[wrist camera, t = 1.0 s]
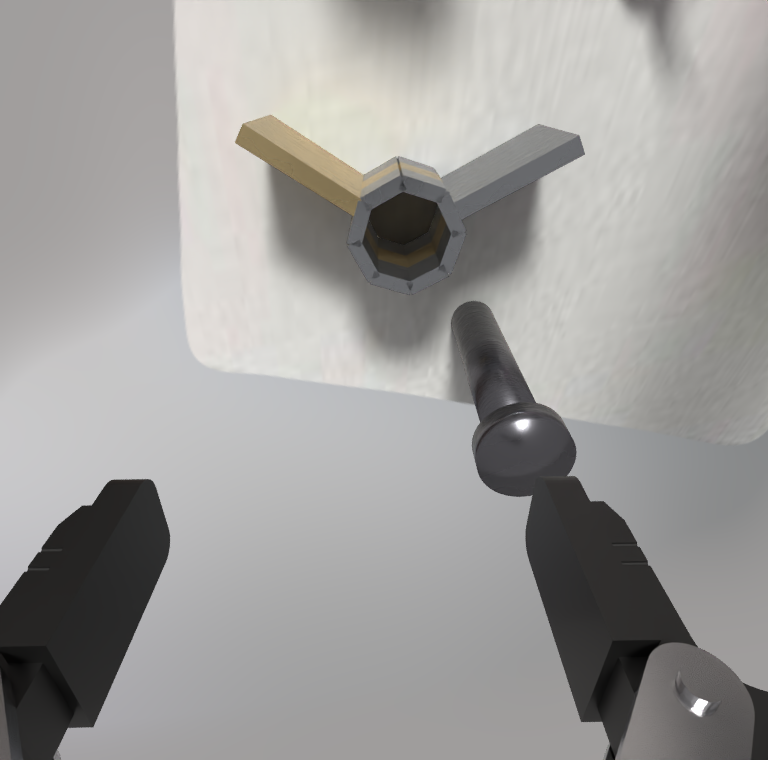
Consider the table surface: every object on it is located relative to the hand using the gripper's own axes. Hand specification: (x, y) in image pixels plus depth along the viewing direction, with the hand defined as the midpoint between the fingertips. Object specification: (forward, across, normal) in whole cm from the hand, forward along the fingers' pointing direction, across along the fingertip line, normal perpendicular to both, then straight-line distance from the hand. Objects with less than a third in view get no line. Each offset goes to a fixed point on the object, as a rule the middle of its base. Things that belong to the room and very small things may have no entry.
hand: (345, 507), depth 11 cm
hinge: (+28, -3, -4) cm, 28 cm away
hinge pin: (+28, -8, +8) cm, 30 cm away
